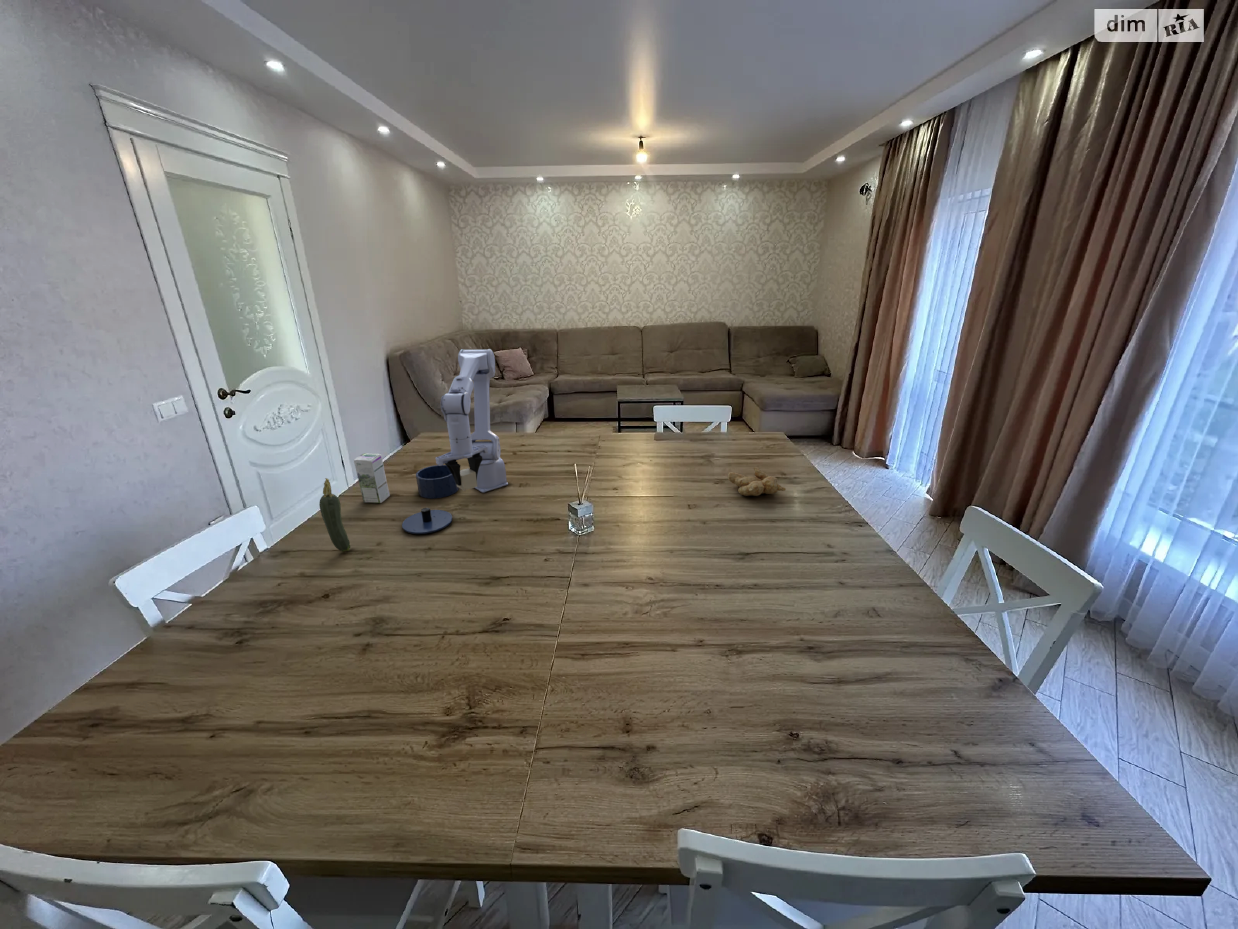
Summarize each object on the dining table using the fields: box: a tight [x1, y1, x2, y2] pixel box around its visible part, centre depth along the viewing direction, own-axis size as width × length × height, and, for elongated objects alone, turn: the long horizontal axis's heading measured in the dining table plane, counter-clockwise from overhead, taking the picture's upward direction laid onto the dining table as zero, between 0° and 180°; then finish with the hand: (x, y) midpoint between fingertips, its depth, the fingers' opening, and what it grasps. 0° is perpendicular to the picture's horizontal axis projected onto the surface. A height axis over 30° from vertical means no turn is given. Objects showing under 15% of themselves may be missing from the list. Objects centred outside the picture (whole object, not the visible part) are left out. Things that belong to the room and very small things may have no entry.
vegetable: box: [319, 477, 351, 553], centre depth 118 cm, size 4×4×20 cm
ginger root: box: [726, 466, 787, 497], centre depth 152 cm, size 16×16×8 cm
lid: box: [401, 507, 453, 535], centre depth 135 cm, size 13×13×5 cm
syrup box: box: [353, 453, 391, 504], centre depth 148 cm, size 6×6×14 cm
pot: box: [415, 464, 460, 499], centre depth 155 cm, size 12×12×6 cm
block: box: [457, 467, 477, 492], centre depth 136 cm, size 4×4×4 cm
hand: (466, 482), depth 137 cm, fingers closed on block, 4 cm apart
